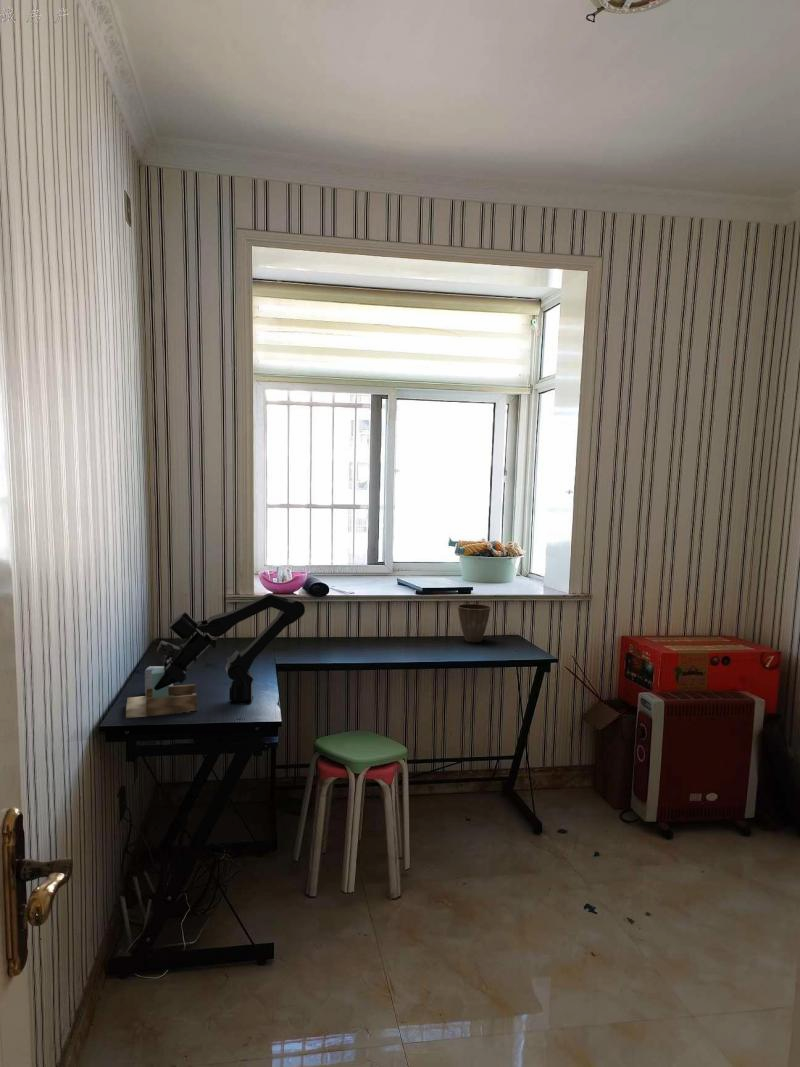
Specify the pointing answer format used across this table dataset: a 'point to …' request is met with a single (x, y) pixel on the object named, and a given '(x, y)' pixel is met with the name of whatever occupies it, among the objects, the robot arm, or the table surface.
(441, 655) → the table surface
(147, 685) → the medicine box
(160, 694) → the teal block
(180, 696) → the channel track
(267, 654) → the table surface
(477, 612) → the plant pot
